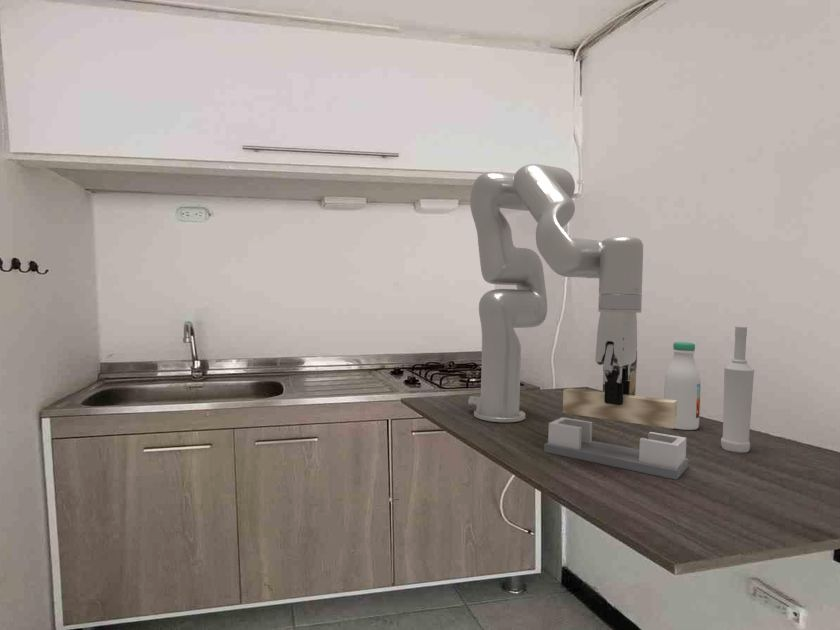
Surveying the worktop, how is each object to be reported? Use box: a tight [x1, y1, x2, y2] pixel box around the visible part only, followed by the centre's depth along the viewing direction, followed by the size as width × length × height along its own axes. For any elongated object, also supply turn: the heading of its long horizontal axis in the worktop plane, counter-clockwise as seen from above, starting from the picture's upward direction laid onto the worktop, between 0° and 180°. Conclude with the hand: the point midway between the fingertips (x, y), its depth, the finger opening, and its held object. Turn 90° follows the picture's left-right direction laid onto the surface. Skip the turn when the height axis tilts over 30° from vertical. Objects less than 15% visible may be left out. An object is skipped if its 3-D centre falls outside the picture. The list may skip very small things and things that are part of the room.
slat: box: [562, 387, 677, 430], centre depth 102 cm, size 20×3×4 cm, turn 53°
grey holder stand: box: [543, 416, 690, 481], centre depth 103 cm, size 24×9×6 cm, turn 53°
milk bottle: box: [663, 341, 701, 431], centre depth 129 cm, size 8×8×20 cm
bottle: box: [720, 326, 755, 454], centre depth 111 cm, size 5×5×25 cm
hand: (616, 401), depth 102 cm, fingers closed on slat, 3 cm apart
